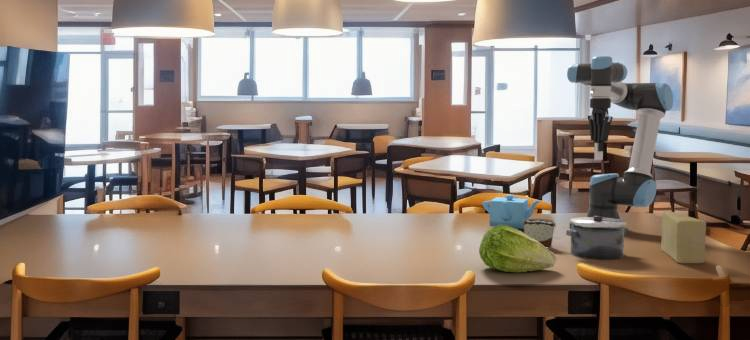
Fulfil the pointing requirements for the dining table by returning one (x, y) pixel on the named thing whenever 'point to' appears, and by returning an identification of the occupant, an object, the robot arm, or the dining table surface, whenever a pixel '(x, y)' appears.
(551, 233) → the food container
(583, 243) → the stockpot
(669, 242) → the cheese
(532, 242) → the lettuce
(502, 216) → the teakettle
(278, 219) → the dining table surface
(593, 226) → the lid
